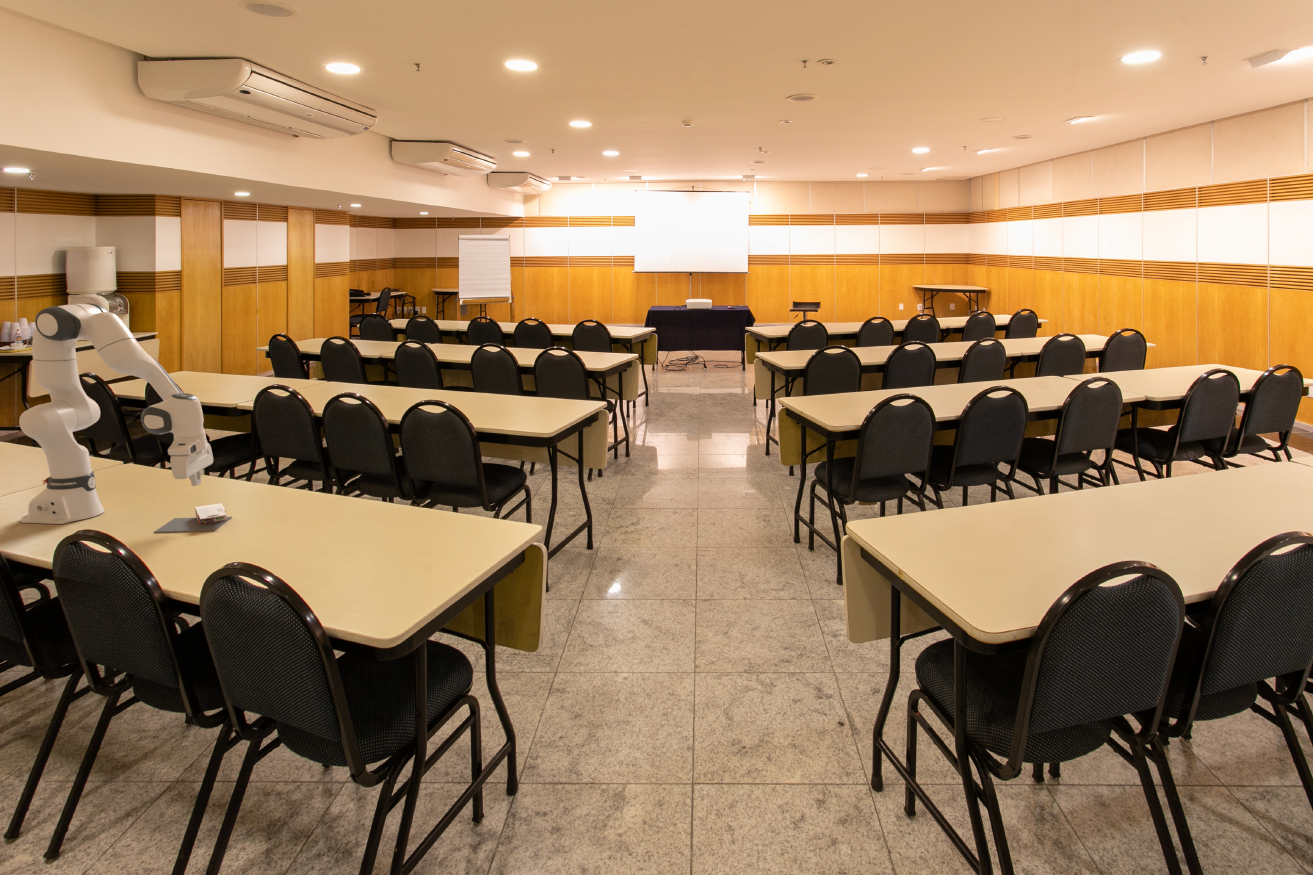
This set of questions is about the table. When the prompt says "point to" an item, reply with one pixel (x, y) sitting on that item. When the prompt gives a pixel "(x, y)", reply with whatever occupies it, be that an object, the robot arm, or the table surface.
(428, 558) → the table surface
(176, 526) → the mat
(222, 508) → the ink box
